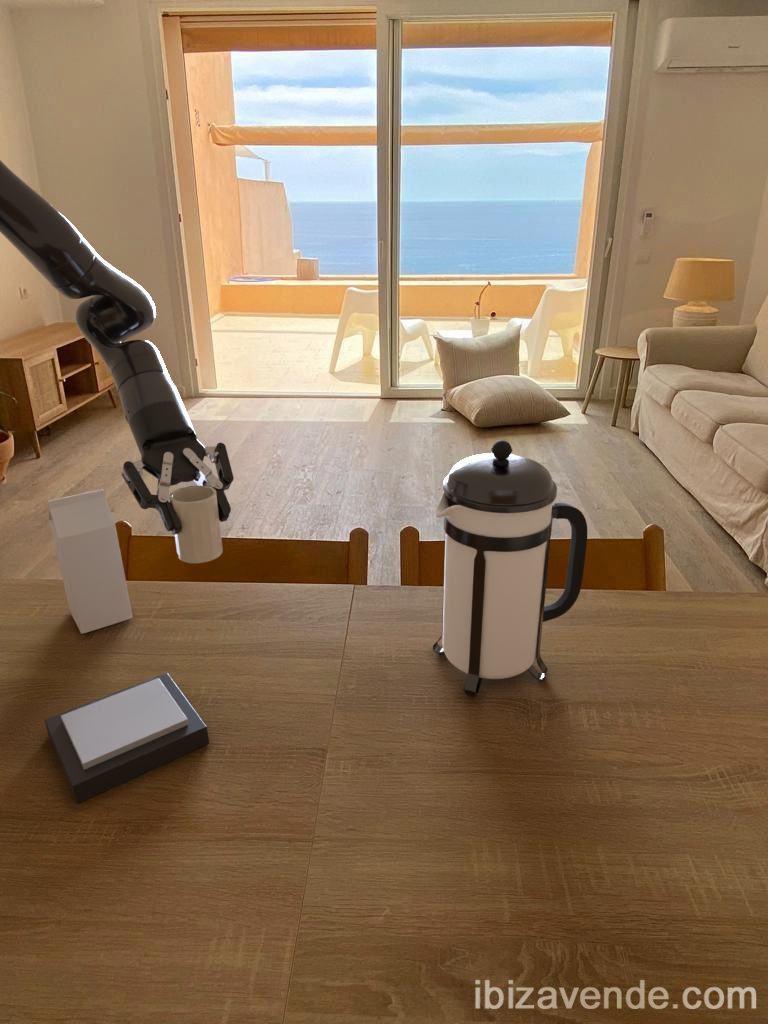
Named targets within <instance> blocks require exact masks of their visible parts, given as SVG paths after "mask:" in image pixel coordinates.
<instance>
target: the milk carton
mask: <svg viewBox="0 0 768 1024" xmlns="http://www.w3.org/2000/svg"><path fill="white" fill-rule="evenodd" d="M108 503H109V502H108V501H107V497H106V495H105V490H104V488H101V489H96V490H91V491H86V492H82V493H77V494H73V495H69V496H64V497H59V498H54V499H49V500H47V505H48V523H49V526H50V531H51V536H52V540H53V544H54V548H55V552H56V556H57V562H58V566H59V570H60V574H61V575H60V576H61V578H62V582H63V583H62V584H63V586H64V588H63V589H64V591H65V596H66V600H67V601H66V602H67V605H68V609H69V612H70V614H71V617H72V619H73V620H74V622H75V624H76V627H77V629H78V630H79V633H80V634H81V635H83V634H87V633H90V632H93V631H96V630H100V629H103V628H106V627H108V626H112V625H116V624H119V623H122V622H125V621H129V620H131V619H133V611H132V606H131V601H130V595H129V591H128V585H127V579H126V573H125V569H124V563H123V558H122V553H121V552H122V551H121V548H120V542H119V537H118V531H117V527H116V522H115V519H114V517H113V514H112V511H111V508H110V506H109V504H108Z"/></svg>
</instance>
